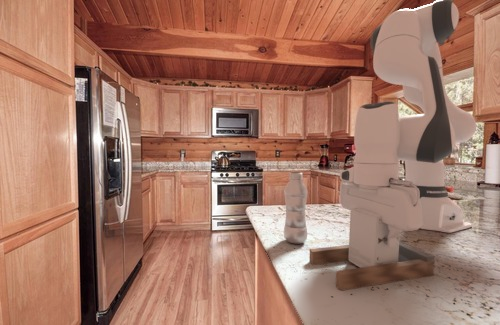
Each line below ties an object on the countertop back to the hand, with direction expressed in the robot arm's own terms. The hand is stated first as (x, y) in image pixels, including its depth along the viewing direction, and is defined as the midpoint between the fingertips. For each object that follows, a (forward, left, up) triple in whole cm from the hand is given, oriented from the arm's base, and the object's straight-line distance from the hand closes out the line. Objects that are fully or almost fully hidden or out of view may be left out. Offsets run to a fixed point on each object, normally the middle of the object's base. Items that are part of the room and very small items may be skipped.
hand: (373, 237), depth 54 cm
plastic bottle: (+11, -18, -7) cm, 22 cm away
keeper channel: (+2, 0, -7) cm, 7 cm away
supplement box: (0, 0, -7) cm, 7 cm away
